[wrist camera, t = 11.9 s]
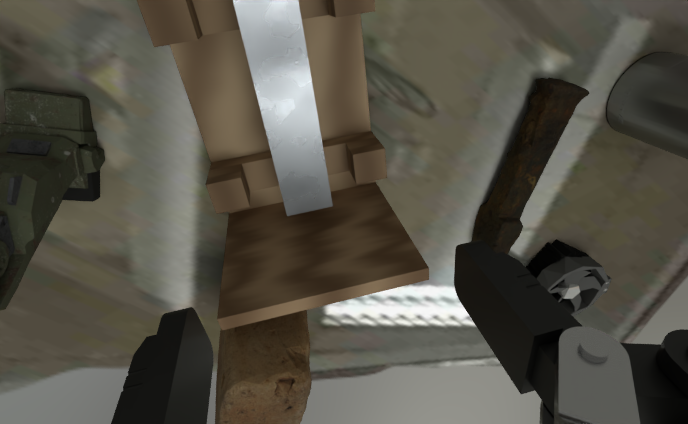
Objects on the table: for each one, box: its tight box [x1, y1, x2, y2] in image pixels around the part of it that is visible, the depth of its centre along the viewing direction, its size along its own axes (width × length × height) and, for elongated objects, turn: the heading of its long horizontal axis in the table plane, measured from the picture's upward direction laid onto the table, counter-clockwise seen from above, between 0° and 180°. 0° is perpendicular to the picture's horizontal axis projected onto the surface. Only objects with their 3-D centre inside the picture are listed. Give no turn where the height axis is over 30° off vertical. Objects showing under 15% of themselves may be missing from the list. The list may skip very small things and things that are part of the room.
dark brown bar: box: [472, 78, 589, 254], centre depth 43 cm, size 23×5×6 cm, turn 165°
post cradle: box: [137, 0, 429, 330], centre depth 28 cm, size 16×24×16 cm
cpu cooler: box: [526, 240, 611, 316], centre depth 54 cm, size 10×6×10 cm
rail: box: [233, 0, 333, 216], centre depth 30 cm, size 4×17×6 cm, turn 7°
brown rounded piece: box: [215, 310, 311, 424], centre depth 36 cm, size 11×8×20 cm
